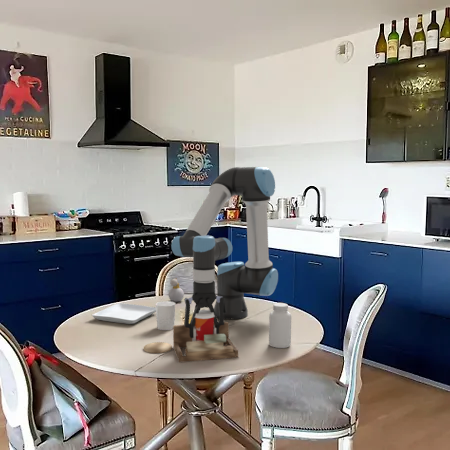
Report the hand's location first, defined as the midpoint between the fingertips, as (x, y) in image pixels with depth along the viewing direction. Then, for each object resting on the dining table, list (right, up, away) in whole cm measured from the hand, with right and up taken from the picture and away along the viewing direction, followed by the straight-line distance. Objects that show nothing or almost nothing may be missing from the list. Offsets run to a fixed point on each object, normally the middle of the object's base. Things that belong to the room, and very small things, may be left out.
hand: (204, 345), depth 180 cm
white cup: (-17, +1, +27) cm, 32 cm away
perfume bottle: (-16, +5, +69) cm, 71 cm away
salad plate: (-36, +2, +42) cm, 55 cm away
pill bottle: (+27, -2, +7) cm, 28 cm away
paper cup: (0, -2, 0) cm, 2 cm away
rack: (0, -2, -1) cm, 2 cm away
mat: (-17, -2, +3) cm, 17 cm away
